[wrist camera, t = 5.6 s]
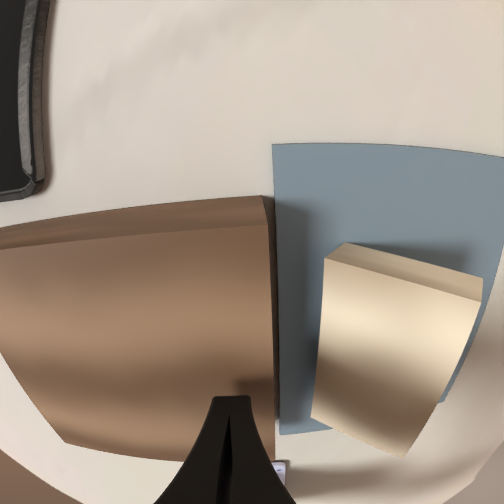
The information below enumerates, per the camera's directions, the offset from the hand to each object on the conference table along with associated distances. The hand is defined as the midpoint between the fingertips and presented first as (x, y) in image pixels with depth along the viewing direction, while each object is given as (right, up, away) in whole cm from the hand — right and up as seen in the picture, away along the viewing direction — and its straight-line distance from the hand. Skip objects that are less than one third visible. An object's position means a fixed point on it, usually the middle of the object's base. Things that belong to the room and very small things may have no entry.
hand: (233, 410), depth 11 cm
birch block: (+6, +1, +1) cm, 6 cm away
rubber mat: (+9, +2, +4) cm, 10 cm away
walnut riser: (-5, +1, +4) cm, 7 cm away
